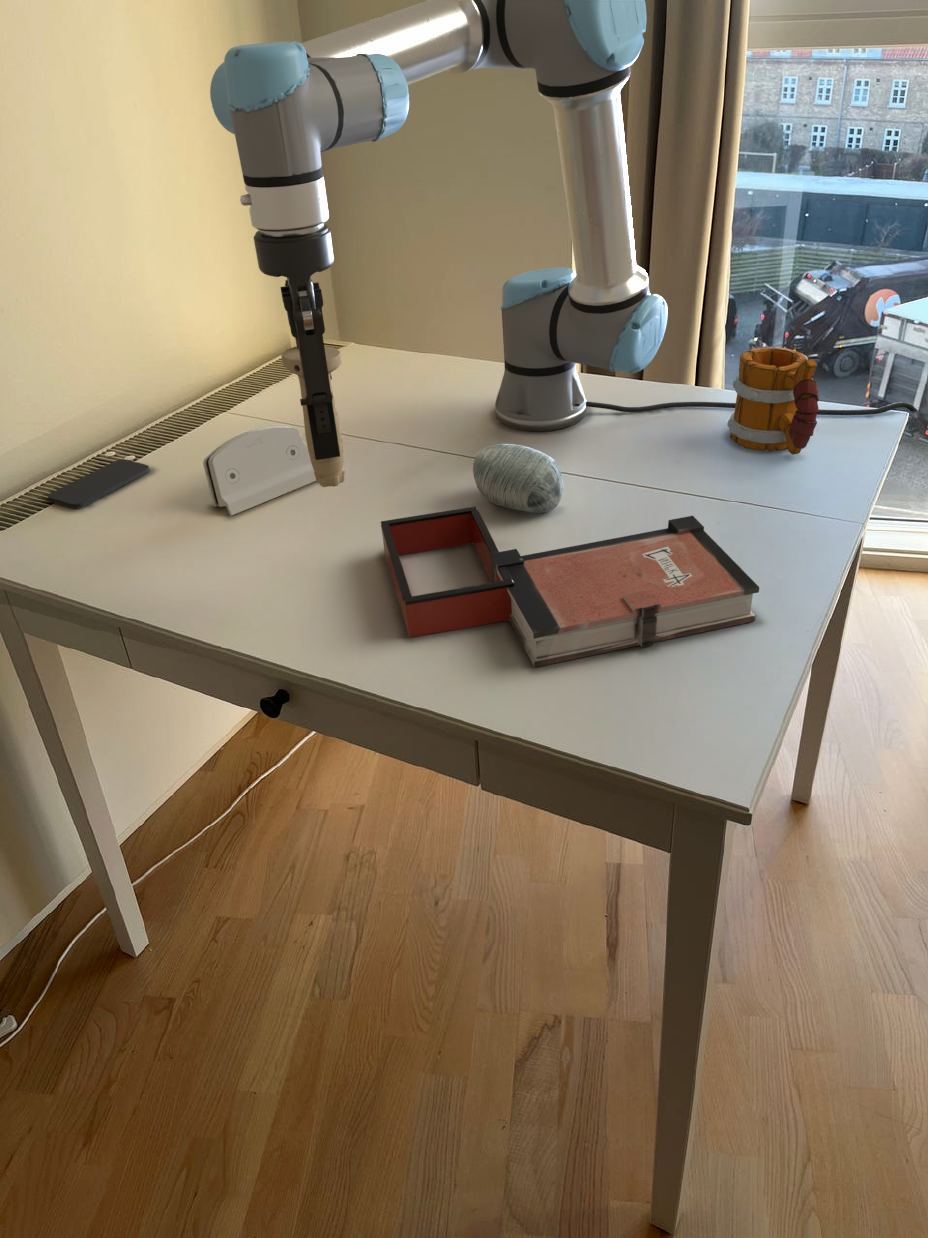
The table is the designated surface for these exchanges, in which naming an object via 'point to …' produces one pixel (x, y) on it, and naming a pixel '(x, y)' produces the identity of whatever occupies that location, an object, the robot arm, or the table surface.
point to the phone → (98, 483)
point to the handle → (325, 469)
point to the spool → (518, 478)
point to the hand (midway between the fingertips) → (325, 447)
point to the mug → (774, 400)
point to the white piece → (257, 467)
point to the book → (623, 592)
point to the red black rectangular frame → (447, 605)
